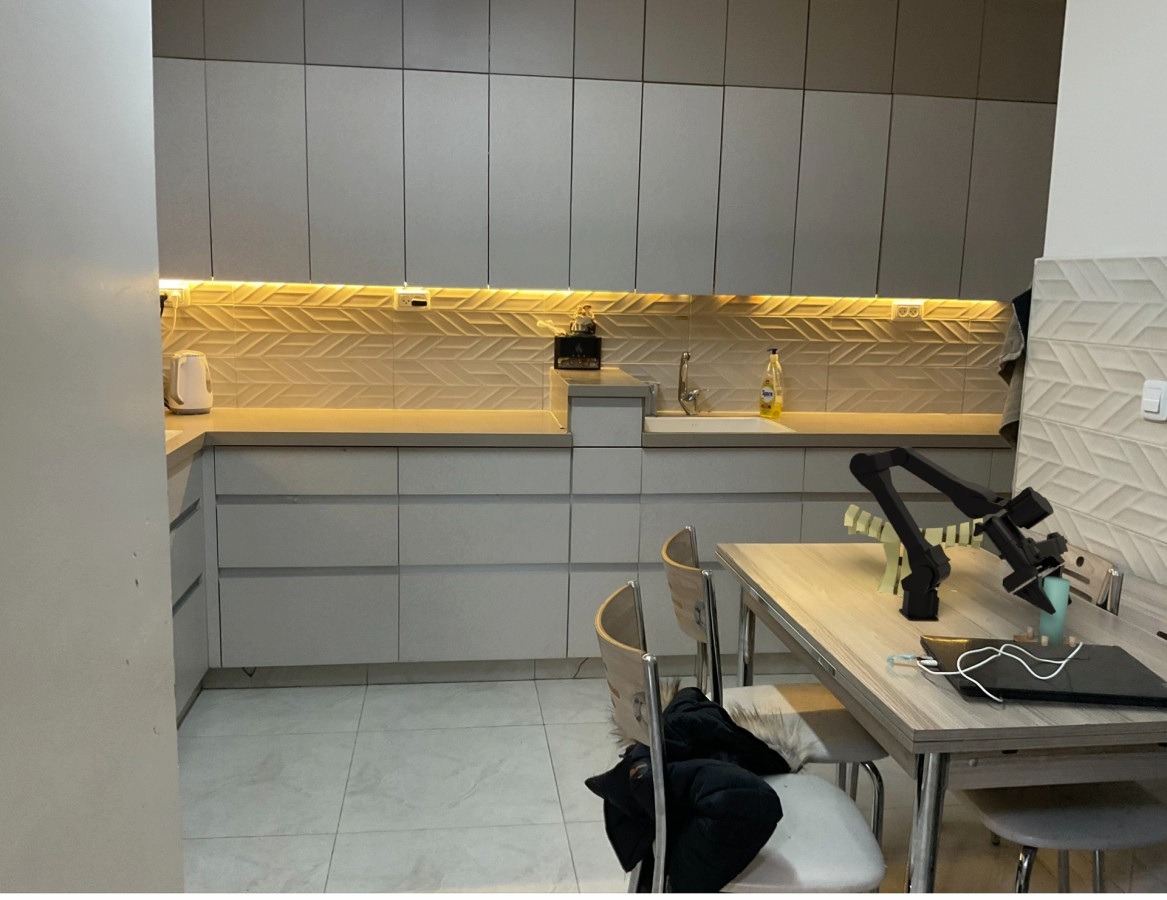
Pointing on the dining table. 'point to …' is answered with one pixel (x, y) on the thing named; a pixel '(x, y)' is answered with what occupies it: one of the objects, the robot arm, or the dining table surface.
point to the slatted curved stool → (893, 547)
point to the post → (1059, 598)
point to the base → (1044, 642)
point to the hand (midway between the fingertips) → (1062, 608)
